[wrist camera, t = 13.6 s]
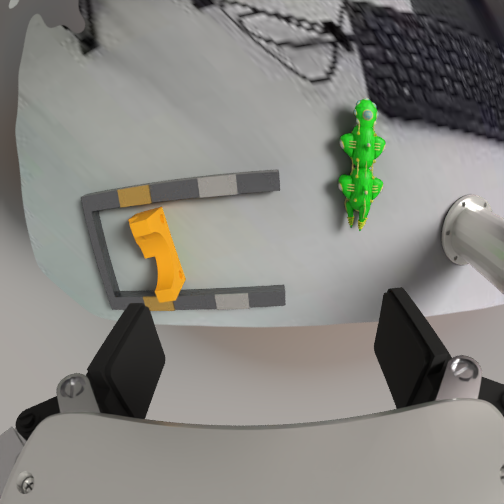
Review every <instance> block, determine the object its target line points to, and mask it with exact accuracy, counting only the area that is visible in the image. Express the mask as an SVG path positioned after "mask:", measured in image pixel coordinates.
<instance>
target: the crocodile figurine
mask: <svg viewBox="0 0 504 504" xmlns="http://www.w3.org/2000/svg"><path fill="white" fill-rule="evenodd" d="M354 115H356V122H357V125H356V126H355V127H354V129H353V131H352V132H351V133H348V134H344V135H342V136H341V137H340V142H339V143H340V146H341V148H342V149H343V150H344V151H345V153H347V154H348V155H349V156H350V157H351V158H350V159H351V160H352V169H354V170H353V171H352V172H351V173H350V175H351V176H350V175H346V174H343V175H341V176H340V177H339V181H338V182H339V183H338V188H339V190H340V191H342V192H343V194H344V195H345V196H346V197H347V198H346V199H347V200H348V202H347V203H346V205H345V208H347V209H346V211H347V213H348V217H347V218H348V221H349V222H348V223H350V224H349V225H350V227H351V228H352V225H353V220H354V219H353V218H354V216H353V211H354V210H356V211H359V220H358V228H359V231H361V229H362V228H363V226H364V225H365V224H366V223H365V222H366V219H368V218H367V215H368V212H369V210H370V205H371V203H372V202H373V199H374V198H376V197H377V196H378V194H379V193H380V192H382V190H383V182H382V181H381V180H380V179H378V178H375V177H374V176H373V163H376V161H375V160H374V159H376V158H377V157H378V156H379V155H380V154H381V153H382V152H383V151H384V150H385V148H386V145H385V140H384V139H382V138H381V137H378V136H377V134H375V131H374V129H373V128H374V127H373V126H375V125H376V118H377V117H378V112H377V109H376V105H375V103H373V102H371V101H370V100H369V99H368V98H364V99H363V100H360V101H358V102H357V103H356V107H355V109H354ZM372 127H373V128H372ZM353 163H354V164H353ZM353 165H355V166H356V168H354V167H353ZM370 167H372V169H371V170H370V169H369V168H370ZM347 200H346V201H347ZM346 201H345V202H346ZM344 204H345V203H344Z"/></svg>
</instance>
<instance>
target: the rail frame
mask: <svg viewBox="0 0 504 504" xmlns="http://www.w3.org/2000/svg"><path fill="white" fill-rule="evenodd" d="M266 191H280V180H279V171H278V170H265V171H251V172H239V173H228V174H218V175H208V176H199V177H191V178H183V179H175V180H168V181H161V182H154V183H147V184H141V185H134V186H128V187H122V188H117V189H111V190H106V191H100V192H95V193H90V194H86V195H84V196H82V197H81V201H82V205H83V210H84V214H85V219H86V223H87V227H88V231H89V235H90V239H91V243H92V247H93V250H94V254H95V257H96V261H97V264H98V268H99V271H100V274H101V277H102V280H103V284H104V287H105V290H106V293H107V296H108V298H109V301H110V304H111V307H112V309H115V310H125V309H126V308H127V306H128V305H129V304H130V303H144V304H145V306H147V307H149V309H150V311H175V310H189V309H217V310H225V309H249V308H250V307H268V306H284V305H285V287H284V285H273V286H256V287H237V288H216V289H191V290H180V292H179V294H178V296H177V299H176V300H175V301H169V302H162V303H159V301H158V298H157V296H156V293H155V291H120V290H119V287H118V284H117V281H116V277H115V274H114V271H113V267H112V264H111V260H110V256H109V253H108V249H107V245H106V241H105V237H104V233H103V229H102V225H101V220H100V216H99V211H98V210H103V209H110V208H117V207H120V208H121V207H128V206H135V205H142V204H150V203H153V202H161V201H169V200H178V199H187V198H196V197H200V198H202V197H213V196H224V195H235V194H239V193H252V192H266Z"/></svg>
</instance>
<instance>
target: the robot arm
mask: <svg viewBox="0 0 504 504" xmlns="http://www.w3.org/2000/svg"><path fill="white" fill-rule="evenodd" d="M442 246H443V250H444V252H445V254H446V256H447V257H448V258H449V259H450V260H451V261H452V262H454V263H456V264H458V265H467V264H470V265H471V266H472V267H473V268H474V269H476V270H477V271H478V272H479V273H480V274H481V275H483V276H484V277H485V278H486V279H487V280H488V281H489V282H491V283H492V284H493V285H494V286H495V287H496V288H497V289H498V290H499V291H500V292H502V293H503V294H504V218H502V217H500V216H498V215H496V214H495V213H493V212H492V209H491V207H490V205H489V203H488V202H487V201H486V200H485V199H484V198H482V197H480V196H477V195H466V196H464V197H462V198H460V199H459V200H458V201H456V202H455V204H454V205H453V206H452V207H451V209H450V210H449V212H448V214H447V216H446V218H445V221H444V224H443V228H442ZM374 351H375V354H376V357H377V359H378V362H379V364H380V366H381V369H382V371H383V374H384V376H385V379H386V381H387V384H388V387H389V389H390V392H391V394H392V397H393V400H394V402H395V405H396V408H397V409H394V410H390V411H384V412H379V413H374V414H369V415H363V416H357V417H350V418H345V419H336V420H329V421H320V422H310V423H298V424H283V425H258V426H225V425H200V424H185V423H173V422H163V421H155V420H147V419H145V417H146V414H147V411H148V408H149V405H150V403H151V400H152V397H153V394H154V391H155V389H156V386H157V383H158V380H159V378H160V375H161V372H162V369H163V366H164V364H165V355H164V352H163V349H162V346H161V343H160V340H159V337H158V334H157V331H156V328H155V325H154V322H153V319H152V316H151V312H150V309H149V307H147V306H145V304H144V303H130V304H129V305H128V306H127V308H126V309H125V311H124V312H123V314H122V315H121V317H120V318H119V320H118V321H117V323H116V324H115V326H114V327H113V329H112V330H111V332H110V334H109V335H108V336H107V338H106V340H105V341H104V343H103V344H102V346H101V348H100V349H99V351H98V352H97V354H96V355H95V357H94V359H93V360H92V362H91V364H90V365H89V367H88V369H87V370H88V373H87V374H86V376H85V375H83V374H80V373H75V374H71V375H68V376H66V377H65V378H64V379H62V380H61V381H60V383H59V384H58V386H57V396H56V397H53V398H51V399H49V400H47V401H45V402H43V403H40V404H38V405H36V406H33V407H31V408H28V409H26V410H25V411H23V412H22V413H21V414H20V415H19V416H18V418H17V421H16V428H15V429H14V428H13V427H11V428H9V429H8V430H7V431H5V432H4V433H3V434H2V435H0V504H504V384H500V383H498V382H495V381H492V380H489V379H487V378H484V377H482V369H481V366H480V365H479V363H478V362H477V361H476V360H474V359H473V358H471V357H468V356H463V355H460V356H456V357H453V358H452V357H451V356H450V354H449V352H448V351H447V349H446V348H445V346H444V345H443V343H442V342H441V340H440V339H439V337H438V336H437V334H436V333H435V331H434V330H433V328H432V327H431V325H430V324H429V323H428V321H427V320H426V319H425V317H424V316H423V314H422V313H421V311H420V310H419V309H418V307H417V306H416V305H415V303H414V302H413V300H412V299H411V298H410V296H409V295H408V294H407V292H406V291H405V290H404V289H403V288H402V287H400V288H391V289H388V291H387V293H384V295H383V301H382V307H381V312H380V318H379V324H378V328H377V333H376V338H375V343H374Z"/></svg>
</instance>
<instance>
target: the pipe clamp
mask: <svg viewBox="0 0 504 504" xmlns="http://www.w3.org/2000/svg"><path fill="white" fill-rule="evenodd" d="M129 223H130V227H131V230H132V233H133V236H134V238H135V240H136V243H137V244H138V245H139V247H140V248H141V250H142V252H143V254H144V257H145V258H149V257H154V256H155V258H156V262H157V268H158V282H157V287H156V290H155V293H156V296H157V298H158V301H159V303H162V302H169V301H175V300H176V299H177V296H178V294H179V292H180V290H181V288H182V286H183V284H184V282H185V280H186V278H185V276H184V273H183V270H182V267H181V264H180V261H179V258H178V255H177V252H176V249H175V246H174V243H173V240H172V237H171V234H170V231H169V228H168V225H167V222H166V218H165V215H164V212H163V209H162V207H159V208H155V209H151V210H148V211H144V212H141V213H137V214H135V215H134V216H133V217H131V218H130V219H129Z"/></svg>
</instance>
